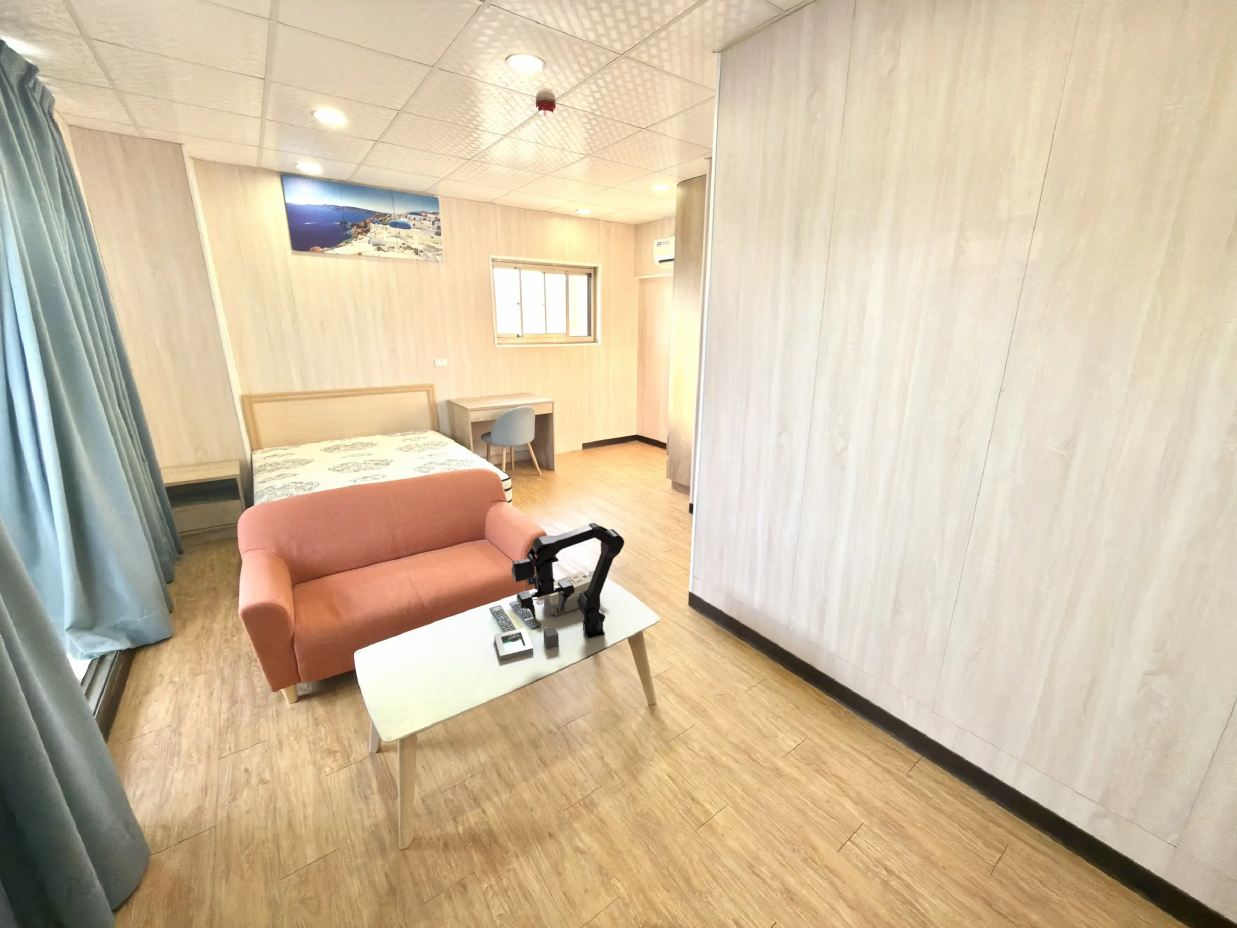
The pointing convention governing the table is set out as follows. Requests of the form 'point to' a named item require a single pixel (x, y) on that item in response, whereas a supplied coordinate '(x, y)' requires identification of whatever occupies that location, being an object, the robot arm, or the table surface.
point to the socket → (513, 644)
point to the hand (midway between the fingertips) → (547, 614)
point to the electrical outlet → (580, 585)
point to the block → (551, 637)
